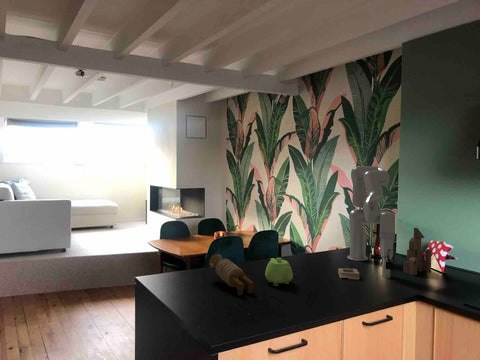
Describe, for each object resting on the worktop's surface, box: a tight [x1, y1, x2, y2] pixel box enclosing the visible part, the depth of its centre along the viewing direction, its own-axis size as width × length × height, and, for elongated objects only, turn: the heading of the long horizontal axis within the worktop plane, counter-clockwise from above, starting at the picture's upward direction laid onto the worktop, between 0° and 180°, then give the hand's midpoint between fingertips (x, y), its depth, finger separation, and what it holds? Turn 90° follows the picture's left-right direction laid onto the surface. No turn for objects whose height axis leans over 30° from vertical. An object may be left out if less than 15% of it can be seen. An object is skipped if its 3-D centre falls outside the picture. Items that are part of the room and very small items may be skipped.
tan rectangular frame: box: [337, 267, 360, 280], centre depth 213 cm, size 10×10×3 cm
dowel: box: [381, 257, 391, 279], centre depth 213 cm, size 4×4×12 cm
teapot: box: [264, 257, 294, 287], centre depth 201 cm, size 20×13×13 cm
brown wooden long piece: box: [208, 253, 255, 297], centre depth 194 cm, size 10×12×30 cm
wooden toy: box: [402, 227, 432, 276], centre depth 222 cm, size 16×7×25 cm, turn 117°
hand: (386, 266), depth 213 cm, fingers open, 9 cm apart
